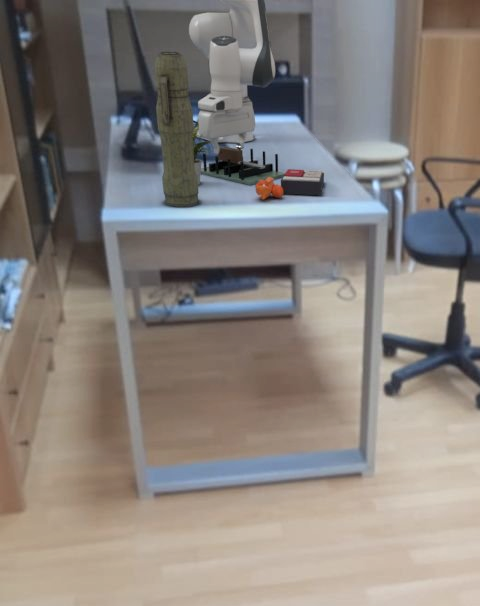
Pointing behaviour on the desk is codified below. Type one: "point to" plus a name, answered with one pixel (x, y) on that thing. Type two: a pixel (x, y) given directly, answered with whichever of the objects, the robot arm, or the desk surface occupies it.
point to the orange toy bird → (268, 188)
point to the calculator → (302, 182)
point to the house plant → (196, 150)
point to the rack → (241, 170)
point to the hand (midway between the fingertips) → (229, 151)
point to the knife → (236, 157)
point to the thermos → (176, 130)
